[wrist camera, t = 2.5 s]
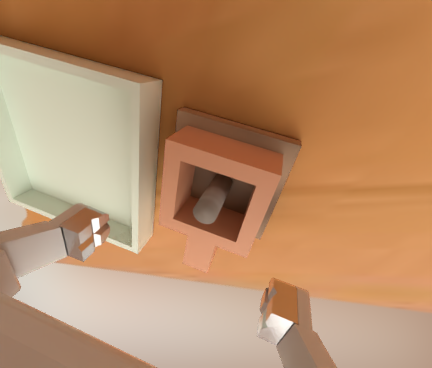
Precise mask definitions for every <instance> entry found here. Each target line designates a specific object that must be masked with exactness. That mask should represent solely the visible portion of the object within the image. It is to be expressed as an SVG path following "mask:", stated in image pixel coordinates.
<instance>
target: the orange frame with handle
mask: <svg viewBox="0 0 432 368" xmlns="http://www.w3.org/2000/svg"><path fill="white" fill-rule="evenodd" d="M282 165H283V154H280V153H277V152H274V151H271V150H267V149H264V148H261V147H257V146H254V145H251V144H248V143H244V142H241V141H238V140H234V139H231V138H228V137H224V136H221V135H218V134H215V133H211V132H208V131H205V130H201V129H198V128H195V127H192V126H188V125H187V126H185V127H184V128H182V129H181V130H179V131H178V132H176V133H174V134H173V135H171V136H170V137H168V138H166V140H165V153H164V165H163V177H162V190H161V202H160V215H159V225H161V226H163V227H166V228H169V229H171V230H174V231H177V232H179V233H182V234H184V235H187V236H188V237H187V242H186V248H185V253H184V259H183V264H185V265H188V266H190V267H193V268H195V269H198V270H200V271H203V272H205V273H208V270H209V268H210V265H211V263H212V260H213V257H214V255H215V252H216V250H217V247H219V248H221V249H224V250H226V251H229V252H232V253H234V254H237V255H240V256H242V257H245V258H247V256H248V254H249V252H250V249H251V247H252V245H253V242H254V240H255V237H256V235H257V233H258V230H259V228H260V226H261V223H262V221H263V219H264V216H265V214H266V212H267V209H268V207H269V205H270V202H271V200H272V197H273V195H274V193H275V190H276V188H277V186H278V183H279V181H280V179H281V176H282ZM195 166H198V167H201V168H204V169H207V170H210V171H213V172H216V173H219V174H222V175H225V176H228V177H231V178H234V179H237V180H240V181H243V182H246V183H249V184H252V185H255V186H254V189H253V192H252V194H251V197H250V200H249V203H248V206H247V208H246V211H245V214H241V213H238V212H235V211H232V210H230V209H227V208H224V207H222V208H221V210H220V212H219V214H218V216H217V218H216V220H215V222H213V223H211V224H203V223H201V222H199V221H198V220H197V219H196V218H195V217H194V215H193V208H194V207H195V205H196V204H197V202H198V201H199V199H198V198H195V197H193V196H190V195H191V189H192V183H193V177H194V171H195Z"/></svg>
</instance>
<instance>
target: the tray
mask: <svg viewBox="0 0 432 368" xmlns="http://www.w3.org/2000/svg"><path fill="white" fill-rule="evenodd" d="M162 81H163V80H161V79H157V78H153V77H150V76H146V75H142V74H139V73H135V72H132V71H128V70H124V69H121V68H117V67H114V66H110V65H106V64H103V63H99V62H95V61H92V60H88V59H85V58H81V57H77V56H74V55H70V54H67V53H63V52H59V51H56V50H52V49H49V48H45V47H41V46H38V45H34V44H30V43H27V42H23V41H20V40H16V39H12V38H9V37H5V36H2V35H0V179H1V181H2V184H3V186H4V189H5V192H6V194H7V197H8V199H9V202H12V203H14V204H17V205H19V206H21V207H24V208H26V209H29V210H31V211H34V212H36V213H39V214H41V215H44V216H46V217H48V218H51V219H54V218H55V217H57V216H58V215H60V214H61V213H63V212H64V211H66V210H68V209H69V208H71V207H72V206H74V205H75V204H77V203H82V204H85V205H87V206H90V207H92V208H95V209H97V210H99V211H102V212H104V213H106V214H108V215H109V221H108V222H107V223H108V224H109V226H110V233H109V236H108V237H107V239H106V240H105V241H107V242H110V243H112V244H115V245H117V246H120V247H122V248H124V249H127V250H129V251H132V252H134V253H137V254H138V253H139V252H140V251H141V249H142V248H143V247H144V246H145V244H146V243H147V242H148V240H149V239H150V238H151V237H152V235H153V224H154V208H155V192H156V177H157V161H158V145H159V129H160V113H161V97H162Z"/></svg>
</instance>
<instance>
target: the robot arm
mask: <svg viewBox="0 0 432 368" xmlns="http://www.w3.org/2000/svg"><path fill="white" fill-rule="evenodd" d="M108 221H109V215H108V214H106V213H104V212H102V211H99V210H97V209H95V208H92V207H90V206H87V205H85V204H82V203H77V204H75V205H74V206H72V207H71V208H69V209H68V210H66V211H64V212H63V213H61V214H60V215H58V216H57V217H55V218H54V219H52V220H51V221H49V222H47V221H43V222H39V223H35V224H31V225H27V226H22V227H18V228H14V229H10V230H6V231H1V232H0V368H157V367H155V366H153V365H151V364H149V363H146V362H145V361H142V360H141V359H138V358H136V357H134V356H132V355H130V354H128V353H126V352H124V351H122V350H120V349H118V348H116V347H114V346H112V345H109V344H107V343H105V342H103V341H101V340H99V339H97V338H95V337H93V336H91V335H89V334H87V333H85V332H83V331H81V330H79V329H76V328H74V327H72V326H70V325H68V324H66V323H64V322H62V321H60V320H58V319H56V318H53V317H52V316H49V315H47V314H45V313H43V312H41V311H39V310H37V309H35V308H33V307H31V306H29V305H27V304H24V303H22V302H20V301H19V300H16V299H14V298H12V297H13V296H14V295H15V294H16V293H17V292H18V291H20V288H21V286H20V284H19V281H18V279H17V278H19V277H22V276H24V275H26V274H29V273H31V272H33V271H35V270H38V269H40V268H42V267H45V266H47V265H49V264H51V263H54V262H56V261H58V260H61V259H63V258H65V257H67V255H68V256H70V257H73V258H75V259H78V260H80V261H83V262H84V261H85V260H86V259H87V258H88V257H89V256H90V255H91V254H92V253H93V252H94V251H95V247H96V246H99V245H102V243H103V242H104V241H105V240H106V239H107V237H108V236H109V233H110V226H109V224H108V223H107V222H108ZM260 311H261V313H262V316H261V317H260V319H259V321H258V331H257V337H259V338H262V339H264V340H266V341H268V342H270V343H272V344H274V345H277V350H278V353H279V355H280V358H281V361H282V364H283V367H284V368H337V367H336V365H335V363H334V362H333V360H332V359H331V357H330V355H329V353H328V352H327V350H326V348H325V346H324V345H323V343H322V341H321V340H320V338H319V336H318V334H317V333H316V332H314V331H313V330H312V319H311V308H310V298H309V292H308V291H307V290H304V289H301V288H299V287H296V286H294V285H292V284H289V283H286V282H284V281H281V280H278V279H275V278H272V279H271V280H270V282H269V288H266V289H265V291H264V293H263V296H262V300H261V305H260Z"/></svg>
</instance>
